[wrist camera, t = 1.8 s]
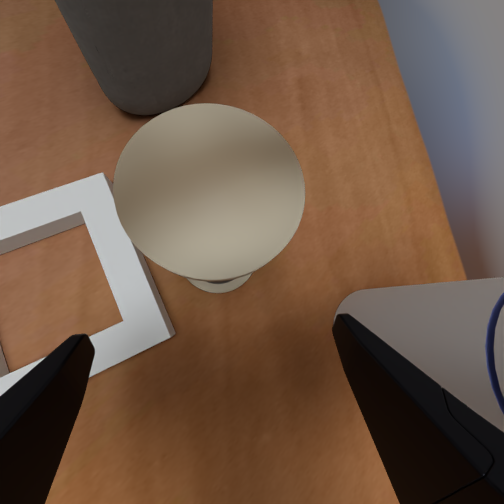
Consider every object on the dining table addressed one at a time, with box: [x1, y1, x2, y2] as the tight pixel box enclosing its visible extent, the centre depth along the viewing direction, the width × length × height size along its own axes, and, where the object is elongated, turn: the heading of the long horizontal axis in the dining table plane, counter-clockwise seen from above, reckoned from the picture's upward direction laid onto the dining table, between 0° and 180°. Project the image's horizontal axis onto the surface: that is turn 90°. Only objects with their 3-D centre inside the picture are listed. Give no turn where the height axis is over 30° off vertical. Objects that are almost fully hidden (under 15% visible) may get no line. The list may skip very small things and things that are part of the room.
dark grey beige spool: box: [113, 103, 305, 293], centre depth 15 cm, size 7×7×13 cm
